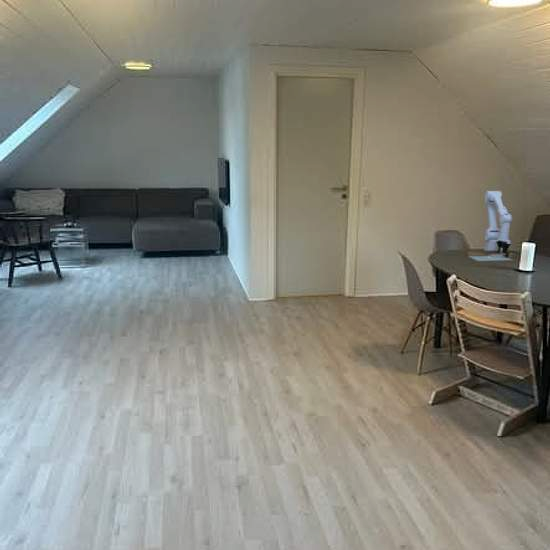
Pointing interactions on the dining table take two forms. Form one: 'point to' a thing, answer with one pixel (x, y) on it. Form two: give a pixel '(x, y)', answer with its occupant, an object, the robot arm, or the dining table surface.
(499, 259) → the mat
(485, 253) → the walls
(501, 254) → the bracket
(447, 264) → the dining table surface
